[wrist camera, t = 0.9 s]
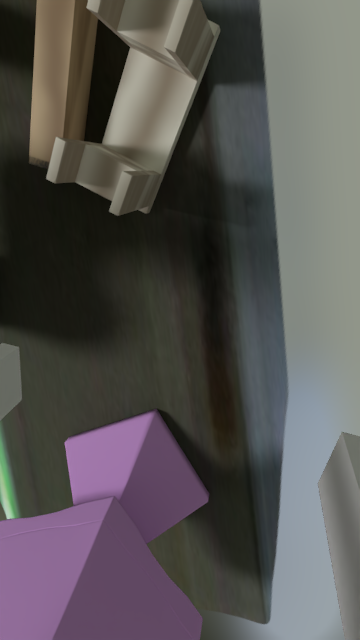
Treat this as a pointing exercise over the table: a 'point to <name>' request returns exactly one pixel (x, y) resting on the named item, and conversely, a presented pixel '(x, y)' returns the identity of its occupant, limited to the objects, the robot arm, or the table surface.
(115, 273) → the table surface
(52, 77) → the rail
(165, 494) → the purple pedestal trophy
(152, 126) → the wooden beam cradle
